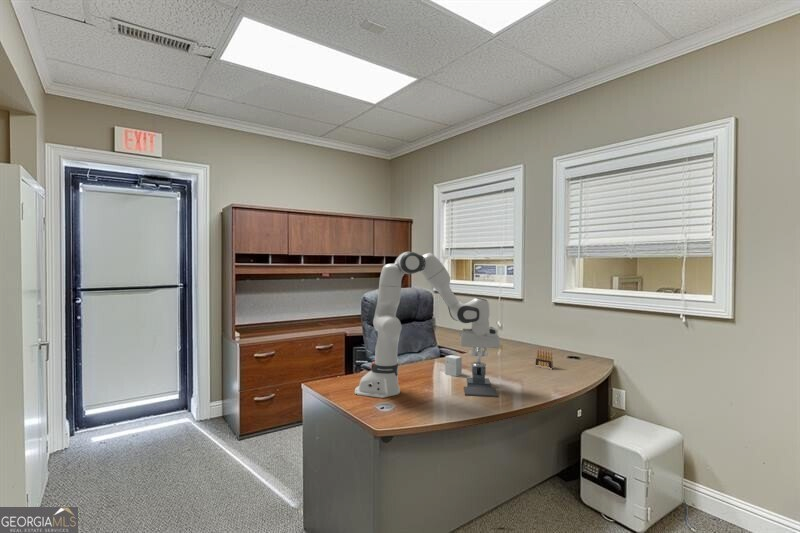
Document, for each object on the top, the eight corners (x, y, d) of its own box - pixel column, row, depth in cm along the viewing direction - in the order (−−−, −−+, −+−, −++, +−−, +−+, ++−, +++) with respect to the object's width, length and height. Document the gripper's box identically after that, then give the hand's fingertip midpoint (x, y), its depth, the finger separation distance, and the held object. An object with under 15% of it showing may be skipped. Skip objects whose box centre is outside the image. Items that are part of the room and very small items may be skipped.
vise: (467, 386, 212) (468, 346, 212) (466, 381, 222) (467, 342, 222) (490, 387, 210) (491, 347, 210) (488, 382, 220) (489, 343, 220)
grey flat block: (470, 357, 207) (471, 352, 207) (469, 352, 221) (469, 346, 221) (488, 358, 206) (488, 353, 206) (486, 352, 220) (486, 347, 220)
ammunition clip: (552, 369, 251) (553, 350, 250) (551, 369, 249) (551, 350, 249) (536, 365, 258) (537, 347, 258) (535, 366, 257) (535, 347, 257)
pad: (464, 395, 197) (464, 393, 197) (463, 388, 209) (463, 386, 209) (498, 397, 195) (498, 395, 195) (495, 389, 207) (495, 388, 207)
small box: (461, 375, 234) (462, 357, 234) (456, 377, 230) (456, 358, 230) (450, 372, 239) (450, 354, 239) (444, 374, 235) (445, 356, 235)
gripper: (460, 329, 207) (459, 356, 207) (500, 331, 205) (500, 358, 205) (459, 327, 213) (459, 353, 213) (499, 329, 211) (498, 355, 211)
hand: (479, 355), depth 209 cm, fingers closed on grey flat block, 2 cm apart
